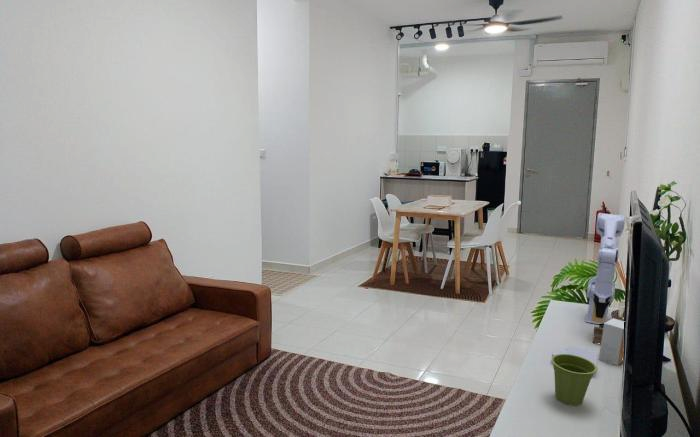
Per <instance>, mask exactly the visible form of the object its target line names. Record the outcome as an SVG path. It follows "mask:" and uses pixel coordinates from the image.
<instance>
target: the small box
mask: <svg viewBox="0 0 700 437" xmlns="http://www.w3.org/2000/svg"><path fill="white" fill-rule="evenodd" d="M624 322H625V321H624V320H621V319H617V318H615V317H613V318H611V319H609V320H607V322H606V323H604V325H603V327H602V328H603V334H602V340H601V344H600V348H599V352H598V353H599V354H598V360H600V361H602V362H606V363H608V364H611V365H615V366H617V365H618V366H619V365H620V364H621V363H623V362H622V358H623V333H624Z"/></svg>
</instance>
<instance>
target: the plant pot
mask: <svg viewBox="0 0 700 437" xmlns="http://www.w3.org/2000/svg"><path fill="white" fill-rule="evenodd" d="M551 360H552V362H553V364H552V366H553V370H554V396H555V398H556V399H557V401H558V402H560V403H562V404H564V405H571V406H575V407H577V406H580V405H582V404H583V402H584V399H585V397H586V395H587V394H586V393H587V391H588V388H589V385H590V382H591V380H592V378H593V376H594V374H595V373H596V372H597V371H598V366H597V364H596V365H595V364H594V363H593V362H591V361H589V360H587V359H585V358H583V357H580V356H576V355H571V354H557V355H554V356H553V357H552V356H551Z"/></svg>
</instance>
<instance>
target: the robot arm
mask: <svg viewBox="0 0 700 437" xmlns="http://www.w3.org/2000/svg"><path fill="white" fill-rule="evenodd" d="M625 220H626V216H625V215H624V214H621V215H620V214H611V213H603V212H598V214H597V219H596V226H595V231H596V234H597V235H599V236H600V245H599V246H600V247H599V248H598V252H597V266H596V267H597V270H596V275H595V276H592V277H590V278H589V281H588V284H587V290H586V291H587V292H586V297H587V298H588V299H589V301H588V309H587V313H586V314H585V322H586V323H589V324H594V325H599V324H600V322H595V321H592V314H593V307H594V303H595V308H596V317H597V318H603V316H604V313H605V318H604V322H607V321H608V313H609V306H610V304H611V302H613V301H614V299H615V294H616V293H615V292H616V283H615V281H614V277H615V271H616V266H617V265H618V261H619V254H620V253H619V248H618V243H619V240H618V238H619V237H621V236H622V234H623V230H624V227H625V222H626V221H625Z"/></svg>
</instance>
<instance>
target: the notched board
mask: <svg viewBox="0 0 700 437" xmlns="http://www.w3.org/2000/svg"><path fill="white" fill-rule="evenodd" d="M593 333H594V335H593V342H594V343H593V342H592V343H593V344H597V343H600V344H599V345H601V340H602V334H603V327H600V326H594V328H593Z"/></svg>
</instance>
